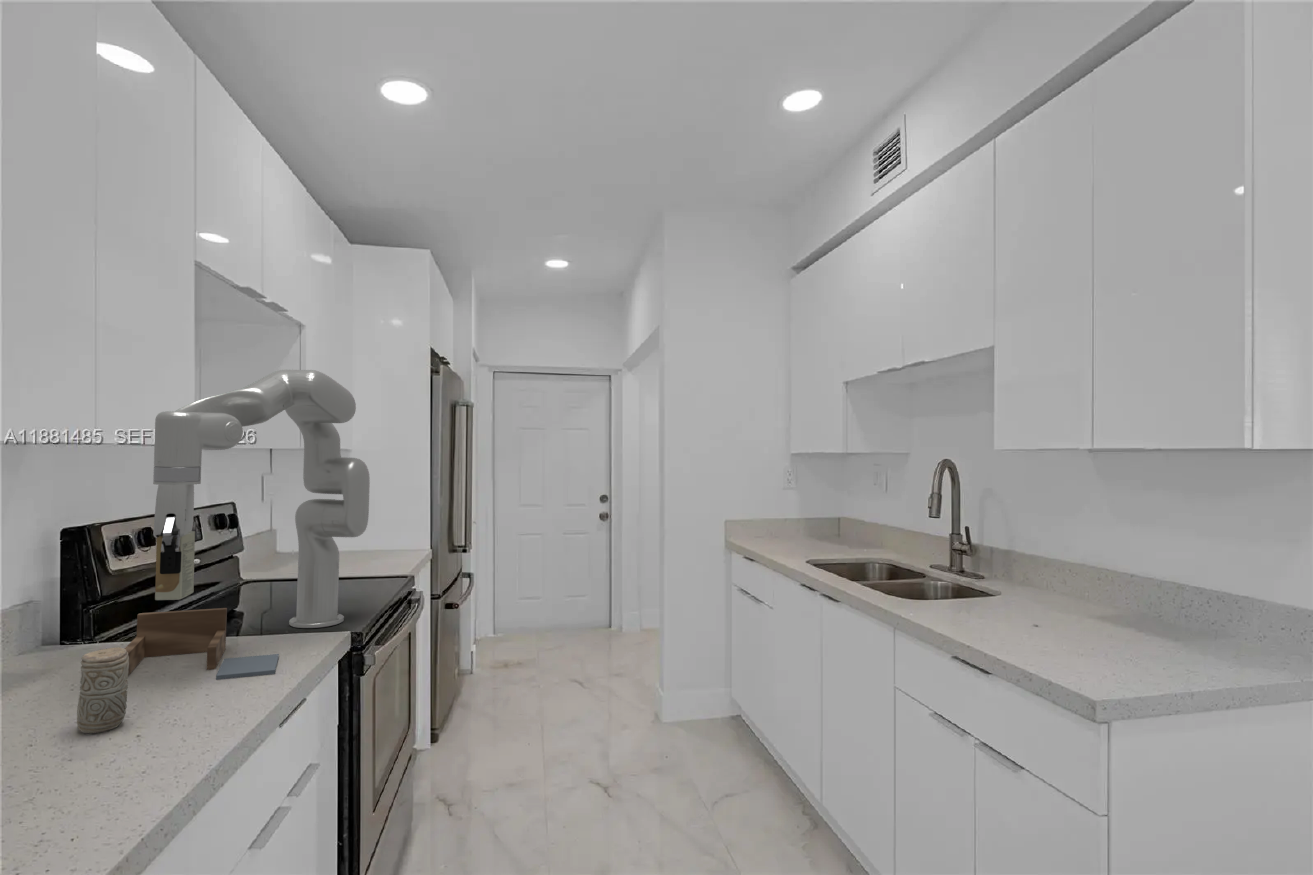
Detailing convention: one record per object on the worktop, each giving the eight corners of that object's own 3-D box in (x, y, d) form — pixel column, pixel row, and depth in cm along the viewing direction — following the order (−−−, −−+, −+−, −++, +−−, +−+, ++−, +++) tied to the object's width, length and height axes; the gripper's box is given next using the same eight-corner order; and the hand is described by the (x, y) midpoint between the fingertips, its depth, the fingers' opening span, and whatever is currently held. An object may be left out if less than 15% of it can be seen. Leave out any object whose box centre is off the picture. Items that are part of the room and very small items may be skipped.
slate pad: (224, 662, 146) (224, 658, 146) (278, 657, 150) (278, 653, 150) (215, 679, 135) (216, 675, 135) (274, 674, 139) (275, 669, 139)
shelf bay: (137, 656, 149) (139, 613, 149) (225, 648, 156) (227, 607, 156) (117, 678, 135) (119, 631, 135) (215, 669, 141) (216, 624, 142)
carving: (80, 740, 106) (83, 660, 107) (71, 726, 112) (74, 650, 112) (131, 728, 111) (134, 652, 111) (121, 716, 116) (124, 643, 117)
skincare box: (169, 593, 136) (171, 530, 137) (194, 593, 137) (196, 530, 138) (153, 600, 130) (155, 534, 130) (179, 600, 131) (181, 534, 131)
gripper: (163, 474, 140) (161, 563, 140) (142, 478, 125) (139, 579, 124) (208, 474, 143) (205, 562, 143) (192, 478, 128) (189, 577, 127)
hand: (174, 569), depth 134 cm, fingers closed on skincare box, 6 cm apart
